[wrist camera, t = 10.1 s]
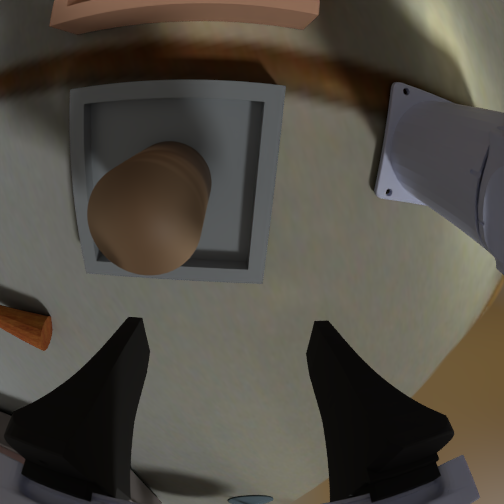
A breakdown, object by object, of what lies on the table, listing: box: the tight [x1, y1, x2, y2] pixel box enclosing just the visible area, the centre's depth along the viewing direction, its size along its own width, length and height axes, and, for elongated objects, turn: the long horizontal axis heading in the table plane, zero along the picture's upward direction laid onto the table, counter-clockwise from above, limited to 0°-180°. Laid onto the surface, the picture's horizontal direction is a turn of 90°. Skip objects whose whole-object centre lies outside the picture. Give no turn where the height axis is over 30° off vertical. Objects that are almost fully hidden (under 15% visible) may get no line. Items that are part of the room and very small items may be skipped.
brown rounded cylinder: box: [87, 141, 212, 275], centre depth 14 cm, size 5×5×6 cm
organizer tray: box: [0, 412, 162, 504], centre depth 38 cm, size 32×40×10 cm
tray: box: [69, 80, 286, 284], centre depth 17 cm, size 12×12×2 cm
